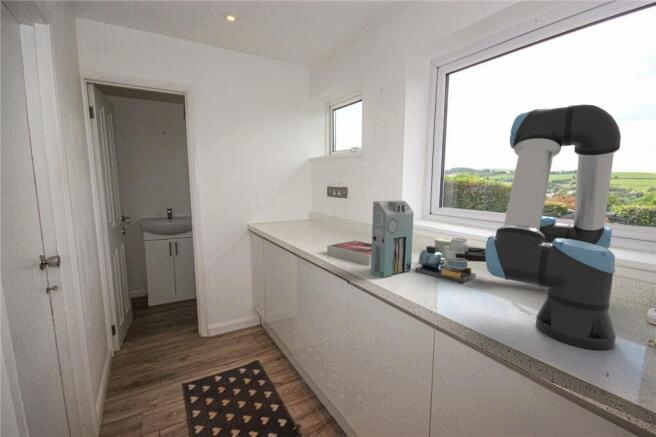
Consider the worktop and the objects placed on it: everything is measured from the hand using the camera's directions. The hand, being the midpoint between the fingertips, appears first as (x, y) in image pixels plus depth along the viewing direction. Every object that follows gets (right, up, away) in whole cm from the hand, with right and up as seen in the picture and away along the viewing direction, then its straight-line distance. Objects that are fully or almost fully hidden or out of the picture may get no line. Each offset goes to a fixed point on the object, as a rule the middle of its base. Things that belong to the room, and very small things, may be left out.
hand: (444, 251), depth 115 cm
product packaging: (-30, -6, +33) cm, 45 cm away
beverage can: (+5, -7, -1) cm, 8 cm away
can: (+7, -8, +19) cm, 22 cm away
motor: (+1, -10, +4) cm, 10 cm away
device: (-21, -9, +6) cm, 23 cm away
